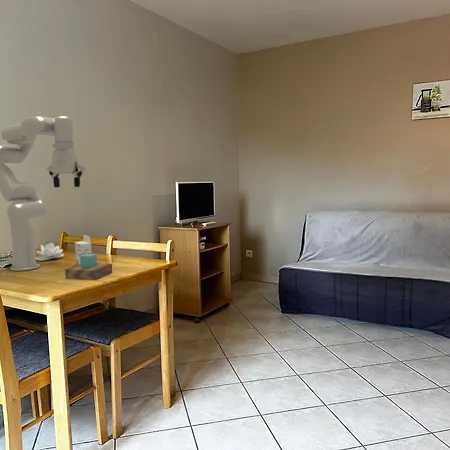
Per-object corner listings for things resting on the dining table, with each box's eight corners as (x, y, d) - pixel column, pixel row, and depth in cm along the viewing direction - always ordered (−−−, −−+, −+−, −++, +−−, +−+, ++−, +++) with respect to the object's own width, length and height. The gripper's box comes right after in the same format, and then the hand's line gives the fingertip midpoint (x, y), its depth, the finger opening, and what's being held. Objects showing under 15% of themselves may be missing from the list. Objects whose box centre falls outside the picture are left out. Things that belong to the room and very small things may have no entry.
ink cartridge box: (75, 266, 198) (73, 235, 197) (85, 264, 202) (83, 234, 200) (82, 268, 192) (80, 237, 190) (92, 267, 195) (91, 236, 194)
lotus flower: (28, 261, 214) (26, 244, 213) (50, 255, 228) (49, 240, 227) (49, 262, 208) (47, 245, 207) (70, 257, 222) (69, 241, 221)
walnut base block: (65, 278, 172) (65, 269, 172) (84, 271, 186) (83, 262, 185) (96, 280, 169) (95, 270, 169) (112, 272, 183) (111, 263, 182)
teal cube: (80, 267, 175) (79, 256, 175) (86, 265, 180) (86, 253, 179) (91, 267, 174) (90, 256, 174) (97, 265, 179) (96, 254, 178)
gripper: (40, 146, 172) (43, 187, 174) (77, 145, 169) (80, 187, 171) (52, 147, 180) (54, 187, 182) (87, 146, 176) (89, 186, 178)
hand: (67, 187), depth 176 cm, fingers open, 9 cm apart
